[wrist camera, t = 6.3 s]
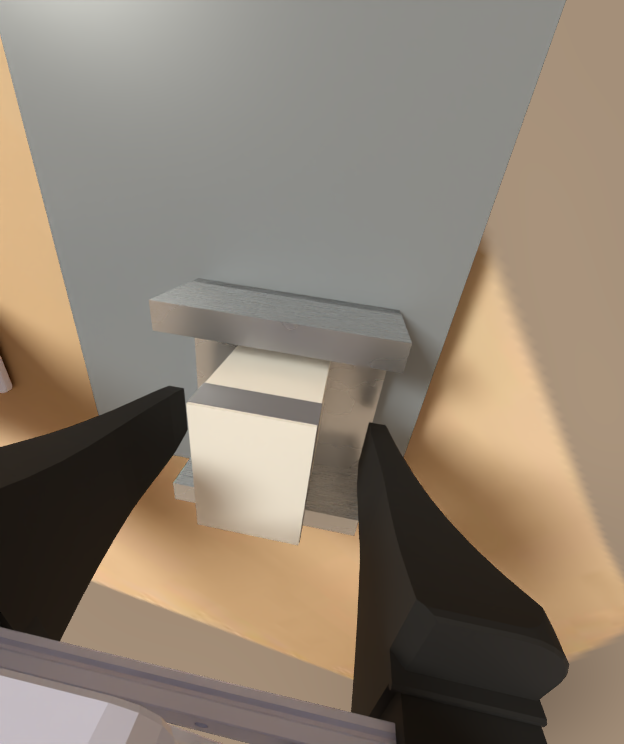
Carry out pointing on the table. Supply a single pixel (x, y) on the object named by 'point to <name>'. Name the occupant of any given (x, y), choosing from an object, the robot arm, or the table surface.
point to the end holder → (303, 338)
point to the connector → (256, 442)
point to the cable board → (269, 160)
